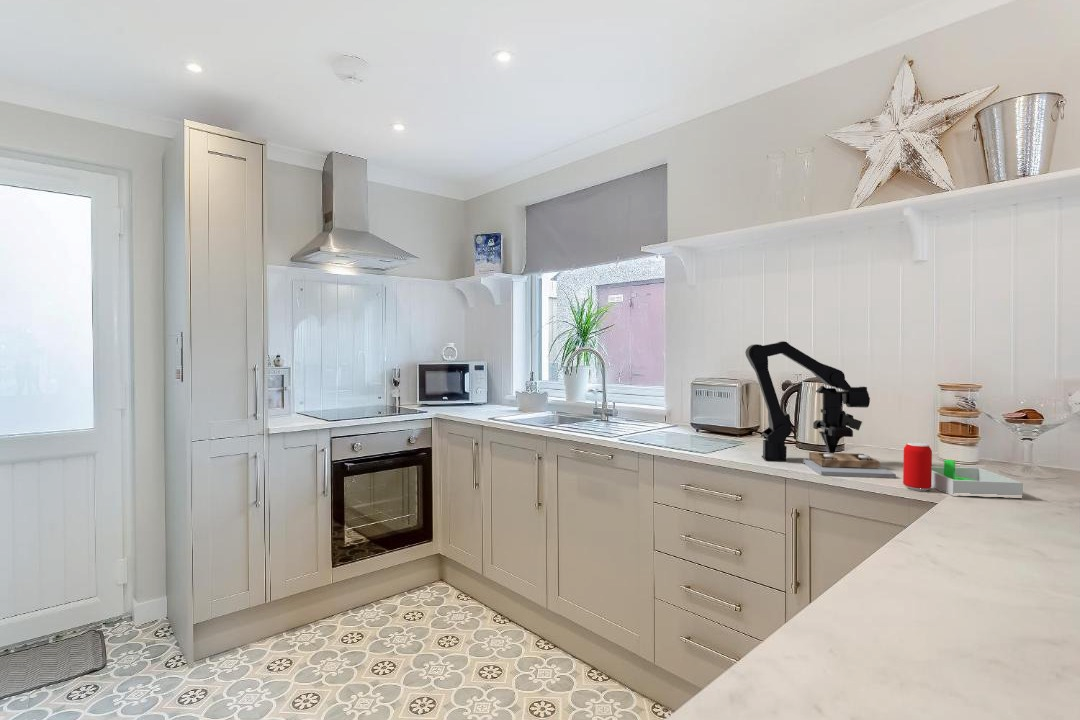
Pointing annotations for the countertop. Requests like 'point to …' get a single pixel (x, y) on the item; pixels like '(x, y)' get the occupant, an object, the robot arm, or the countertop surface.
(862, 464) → the panel
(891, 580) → the countertop surface
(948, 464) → the mechanical part
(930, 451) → the beverage can
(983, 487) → the frame
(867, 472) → the boss board
